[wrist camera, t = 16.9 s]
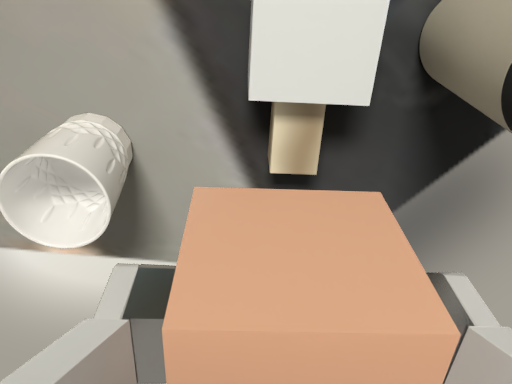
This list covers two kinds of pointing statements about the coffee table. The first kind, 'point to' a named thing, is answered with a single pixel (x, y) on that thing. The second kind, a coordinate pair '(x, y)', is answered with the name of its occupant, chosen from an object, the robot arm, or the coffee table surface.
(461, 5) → the travel mug
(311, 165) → the rod
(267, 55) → the tunnel
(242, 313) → the block
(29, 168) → the white cup
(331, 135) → the coffee table surface
